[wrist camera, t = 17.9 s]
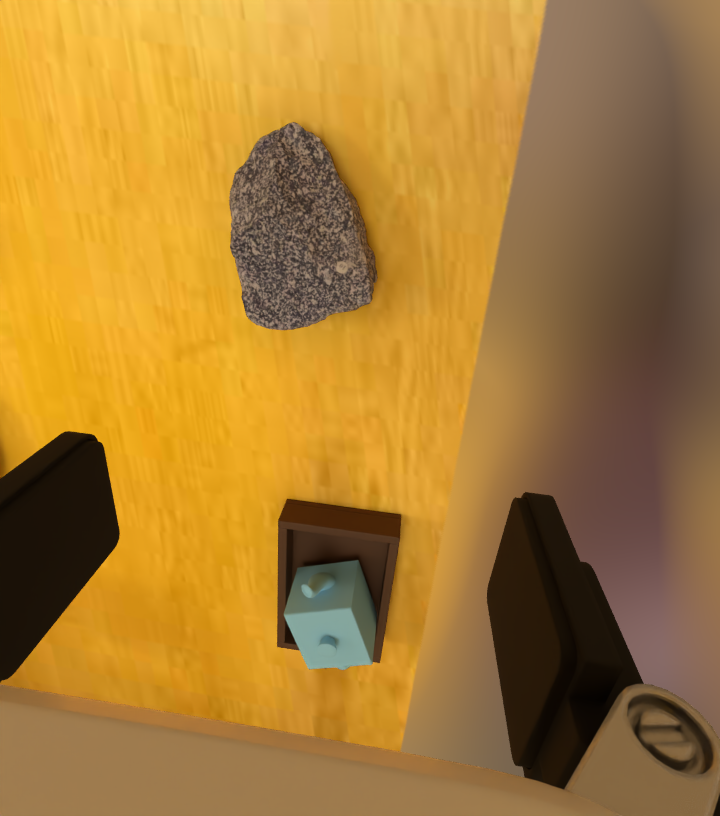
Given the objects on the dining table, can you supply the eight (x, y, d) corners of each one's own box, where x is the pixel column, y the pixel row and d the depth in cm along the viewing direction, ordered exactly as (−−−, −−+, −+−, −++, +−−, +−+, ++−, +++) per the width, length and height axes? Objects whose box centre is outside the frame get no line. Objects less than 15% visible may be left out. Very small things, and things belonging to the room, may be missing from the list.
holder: (286, 498, 44) (278, 520, 41) (401, 514, 43) (399, 537, 41) (284, 621, 52) (277, 647, 49) (381, 636, 51) (379, 663, 48)
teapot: (288, 533, 45) (266, 597, 38) (350, 525, 44) (337, 589, 37) (325, 621, 50) (311, 691, 43) (381, 616, 49) (375, 687, 42)
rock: (395, 294, 30) (256, 357, 32) (391, 284, 35) (272, 339, 37) (310, 94, 26) (159, 177, 28) (320, 115, 31) (191, 185, 33)
